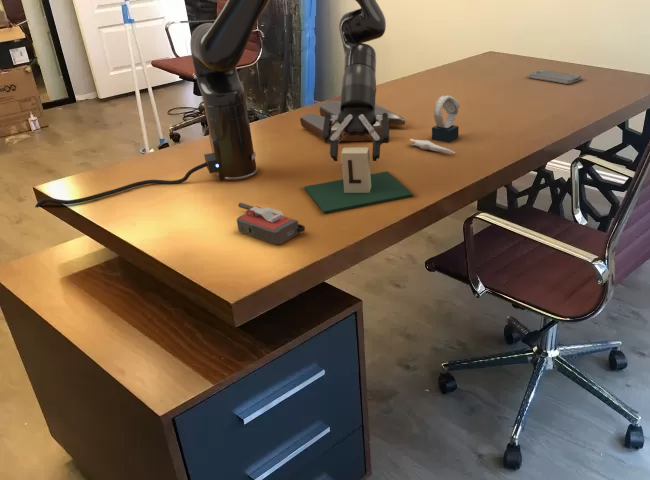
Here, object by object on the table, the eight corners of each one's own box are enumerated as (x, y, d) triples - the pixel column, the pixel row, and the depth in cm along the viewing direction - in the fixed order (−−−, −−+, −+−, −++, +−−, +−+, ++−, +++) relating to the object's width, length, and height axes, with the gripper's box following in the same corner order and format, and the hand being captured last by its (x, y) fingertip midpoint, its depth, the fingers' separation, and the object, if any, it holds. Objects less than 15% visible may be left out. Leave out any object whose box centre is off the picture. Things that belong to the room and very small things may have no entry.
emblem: (419, 101, 185) (370, 129, 164) (419, 120, 187) (371, 150, 167) (335, 92, 196) (279, 117, 175) (337, 110, 199) (282, 137, 178)
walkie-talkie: (313, 230, 128) (243, 208, 138) (311, 210, 126) (240, 189, 136) (281, 248, 122) (211, 223, 133) (278, 227, 120) (207, 203, 130)
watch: (462, 135, 174) (462, 94, 168) (446, 144, 169) (446, 101, 163) (444, 132, 177) (444, 91, 171) (428, 141, 172) (427, 98, 166)
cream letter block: (344, 193, 142) (340, 153, 137) (346, 186, 145) (343, 147, 140) (369, 193, 142) (366, 153, 137) (371, 186, 145) (368, 147, 140)
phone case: (569, 84, 214) (569, 80, 214) (527, 77, 224) (528, 73, 223) (581, 79, 219) (582, 75, 219) (541, 72, 229) (541, 69, 228)
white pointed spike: (406, 145, 168) (406, 138, 167) (413, 143, 170) (413, 136, 169) (452, 158, 160) (452, 150, 159) (459, 155, 161) (459, 147, 160)
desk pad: (323, 213, 135) (323, 211, 134) (304, 188, 147) (304, 186, 146) (412, 196, 141) (412, 193, 141) (387, 173, 153) (387, 171, 152)
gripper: (323, 82, 140) (318, 151, 137) (389, 81, 139) (386, 151, 136) (329, 100, 148) (325, 167, 144) (392, 100, 147) (389, 167, 143)
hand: (354, 159), depth 140 cm, fingers open, 8 cm apart
